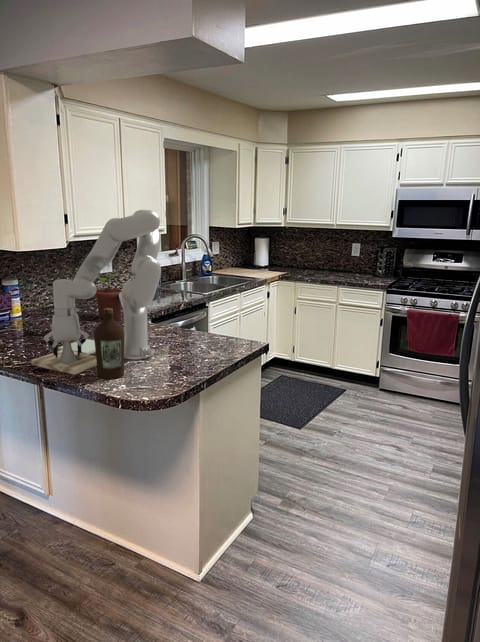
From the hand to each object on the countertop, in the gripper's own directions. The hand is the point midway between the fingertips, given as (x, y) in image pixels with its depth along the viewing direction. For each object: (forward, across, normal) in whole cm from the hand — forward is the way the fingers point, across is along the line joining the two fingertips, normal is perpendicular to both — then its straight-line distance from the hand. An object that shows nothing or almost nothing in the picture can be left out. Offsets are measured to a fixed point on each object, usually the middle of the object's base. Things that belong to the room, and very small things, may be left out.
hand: (67, 355), depth 180 cm
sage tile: (+3, -7, -21) cm, 23 cm away
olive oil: (+4, -15, +18) cm, 23 cm away
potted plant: (+4, -22, -73) cm, 76 cm away
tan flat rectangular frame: (+3, 0, 0) cm, 3 cm away
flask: (+4, 0, 0) cm, 4 cm away
